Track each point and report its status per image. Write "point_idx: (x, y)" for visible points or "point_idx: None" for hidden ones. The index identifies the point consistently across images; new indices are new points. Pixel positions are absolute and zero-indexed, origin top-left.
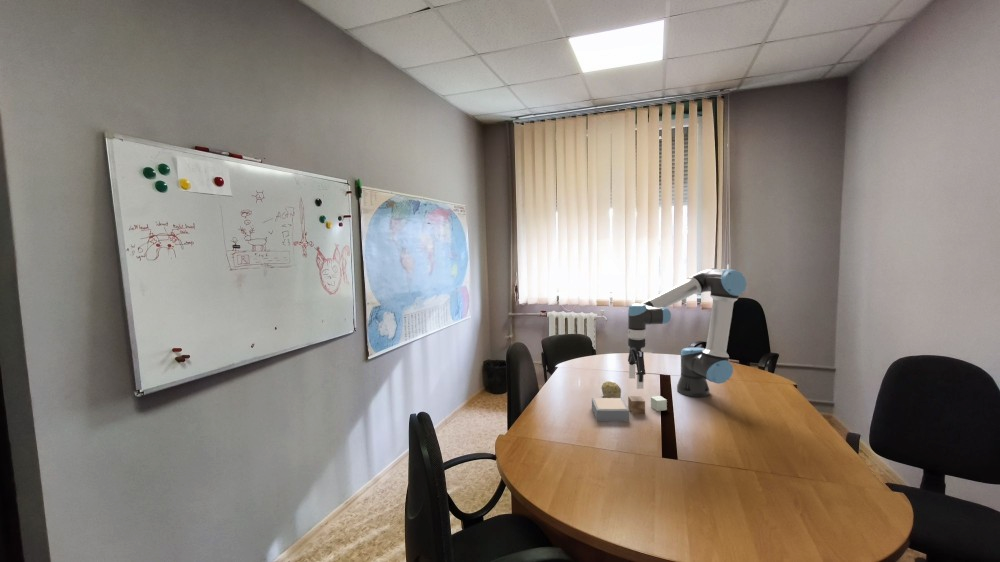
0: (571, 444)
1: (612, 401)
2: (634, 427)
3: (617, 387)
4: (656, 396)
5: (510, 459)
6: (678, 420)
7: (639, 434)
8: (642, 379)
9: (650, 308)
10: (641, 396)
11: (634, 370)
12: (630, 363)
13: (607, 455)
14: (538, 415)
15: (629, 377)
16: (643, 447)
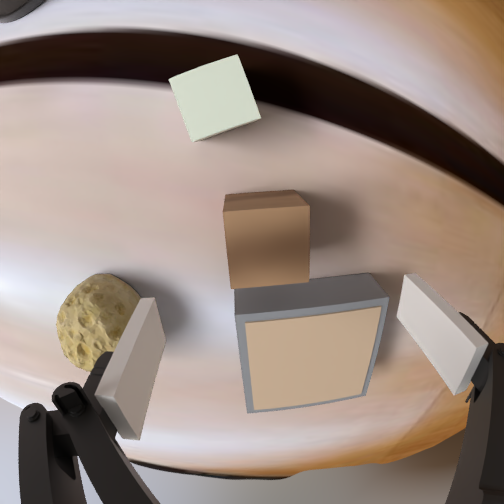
0: (441, 392)
1: (290, 357)
2: (412, 261)
3: (109, 323)
4: (181, 105)
5: (442, 438)
6: (356, 58)
7: (452, 253)
8: (475, 327)
9: None
10: (227, 211)
11: (135, 354)
12: (118, 444)
13: (493, 331)
14: (301, 460)
15: (163, 344)
16: (498, 255)
